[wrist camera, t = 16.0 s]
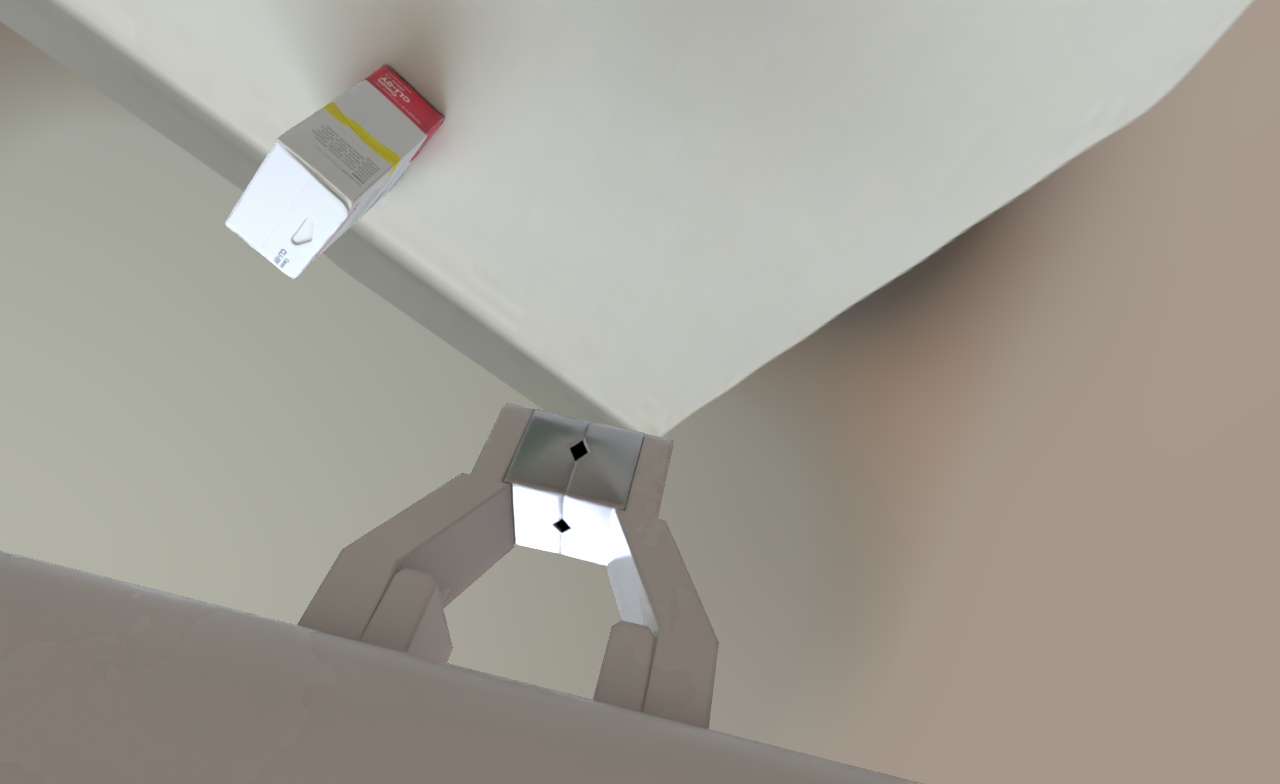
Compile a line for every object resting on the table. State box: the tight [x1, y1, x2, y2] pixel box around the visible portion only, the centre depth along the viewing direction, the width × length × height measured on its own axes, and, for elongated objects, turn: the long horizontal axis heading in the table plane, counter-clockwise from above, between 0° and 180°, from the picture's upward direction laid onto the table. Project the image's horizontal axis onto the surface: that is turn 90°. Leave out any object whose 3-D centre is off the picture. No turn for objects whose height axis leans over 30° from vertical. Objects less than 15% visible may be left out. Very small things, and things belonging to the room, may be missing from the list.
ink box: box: [225, 65, 444, 279], centre depth 40 cm, size 9×5×12 cm, turn 134°
